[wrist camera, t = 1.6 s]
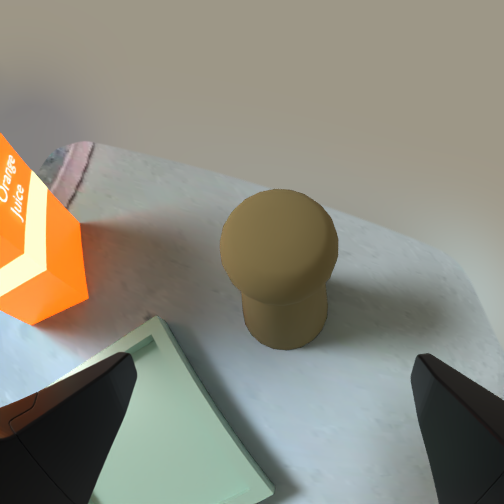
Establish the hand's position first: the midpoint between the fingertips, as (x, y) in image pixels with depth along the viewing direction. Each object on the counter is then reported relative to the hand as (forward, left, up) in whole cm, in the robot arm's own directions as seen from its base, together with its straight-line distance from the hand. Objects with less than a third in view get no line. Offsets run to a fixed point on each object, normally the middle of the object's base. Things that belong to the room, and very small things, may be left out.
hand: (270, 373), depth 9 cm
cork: (+5, -3, -12) cm, 14 cm away
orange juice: (+20, +13, -12) cm, 26 cm away
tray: (+2, +12, -12) cm, 17 cm away
